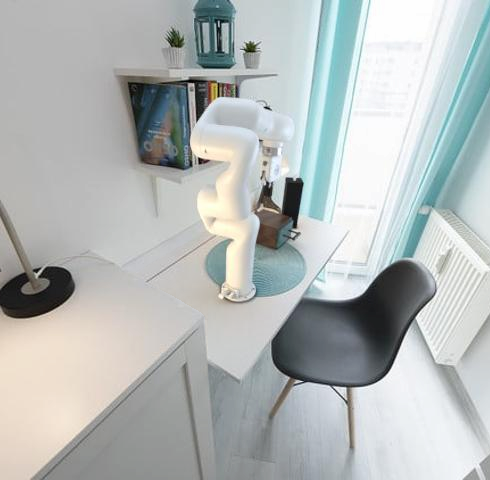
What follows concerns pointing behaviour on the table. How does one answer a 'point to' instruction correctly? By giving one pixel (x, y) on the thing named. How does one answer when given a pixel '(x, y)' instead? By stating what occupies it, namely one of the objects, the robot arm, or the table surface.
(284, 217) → the cabinet
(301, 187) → the black square column
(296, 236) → the drawer
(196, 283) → the table surface
